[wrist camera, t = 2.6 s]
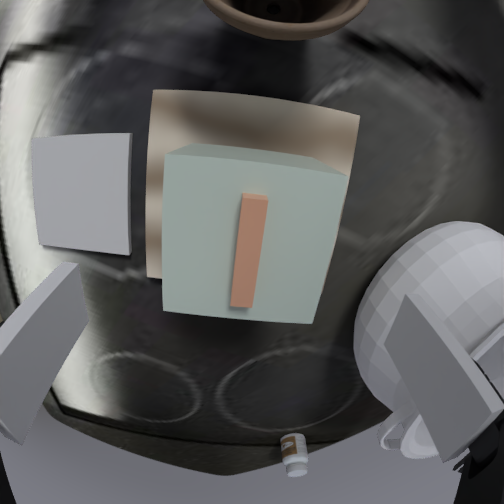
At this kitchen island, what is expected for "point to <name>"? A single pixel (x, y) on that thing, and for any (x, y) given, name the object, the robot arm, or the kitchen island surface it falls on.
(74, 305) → the robot arm
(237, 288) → the cube with orange handle
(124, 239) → the pad
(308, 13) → the flower pot
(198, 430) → the kitchen island surface
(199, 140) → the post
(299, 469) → the pill bottle
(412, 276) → the pot
